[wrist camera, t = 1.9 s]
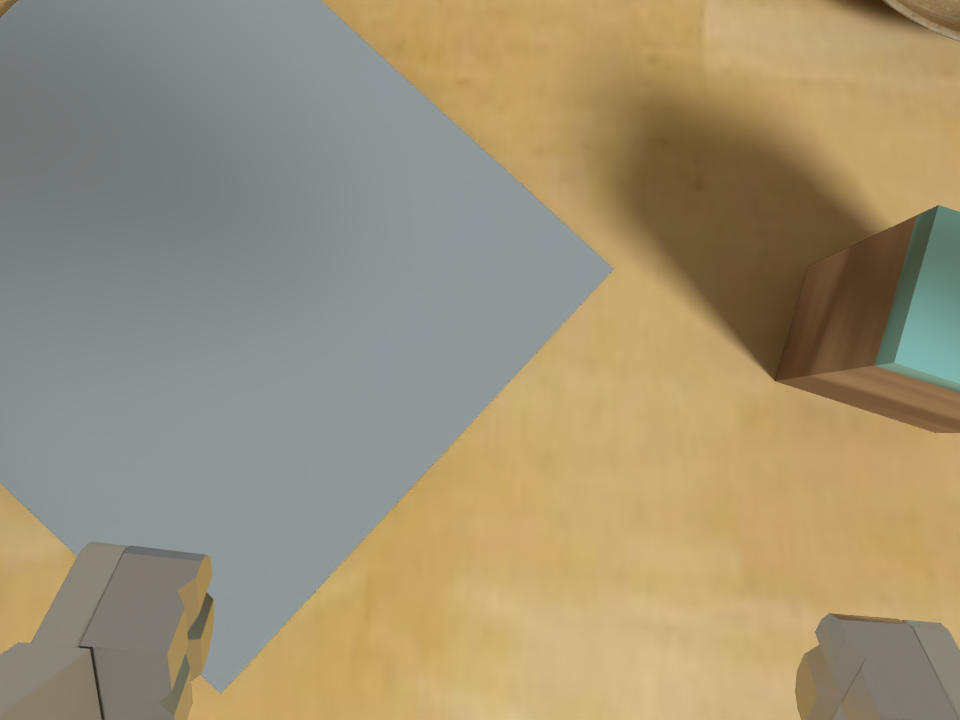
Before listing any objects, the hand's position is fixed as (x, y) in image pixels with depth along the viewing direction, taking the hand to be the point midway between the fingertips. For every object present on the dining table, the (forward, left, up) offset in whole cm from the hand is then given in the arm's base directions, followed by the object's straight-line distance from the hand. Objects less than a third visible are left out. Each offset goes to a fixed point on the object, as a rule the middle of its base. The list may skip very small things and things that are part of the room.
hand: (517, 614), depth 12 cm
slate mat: (+12, +1, -17) cm, 21 cm away
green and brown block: (-6, -12, -17) cm, 22 cm away
